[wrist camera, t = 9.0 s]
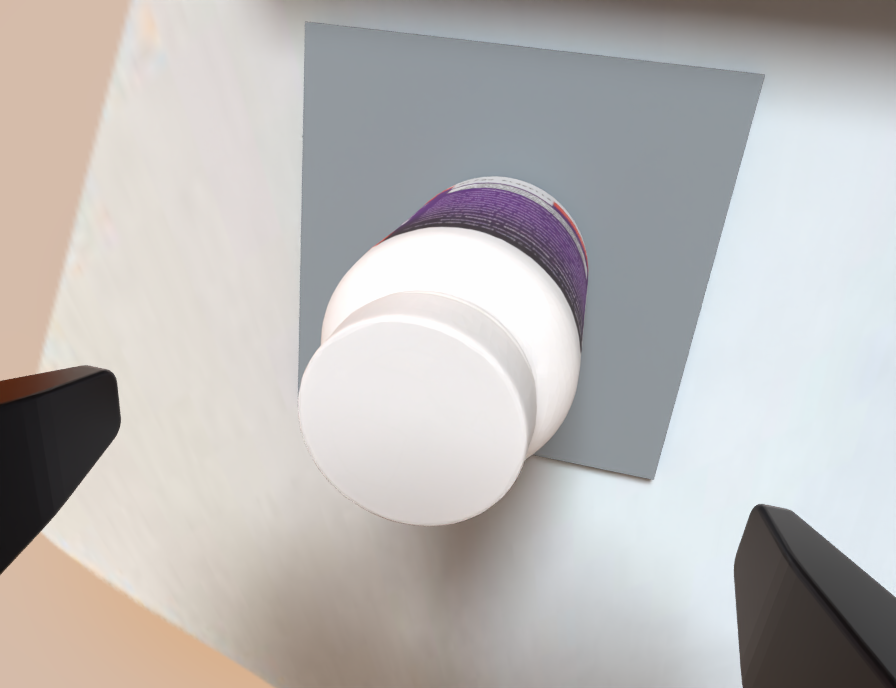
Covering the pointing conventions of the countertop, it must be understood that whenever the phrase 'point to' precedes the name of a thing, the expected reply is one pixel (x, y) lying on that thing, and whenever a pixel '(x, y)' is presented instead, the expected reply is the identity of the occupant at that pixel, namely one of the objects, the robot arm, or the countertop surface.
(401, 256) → the pill bottle
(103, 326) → the countertop surface
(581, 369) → the mat
